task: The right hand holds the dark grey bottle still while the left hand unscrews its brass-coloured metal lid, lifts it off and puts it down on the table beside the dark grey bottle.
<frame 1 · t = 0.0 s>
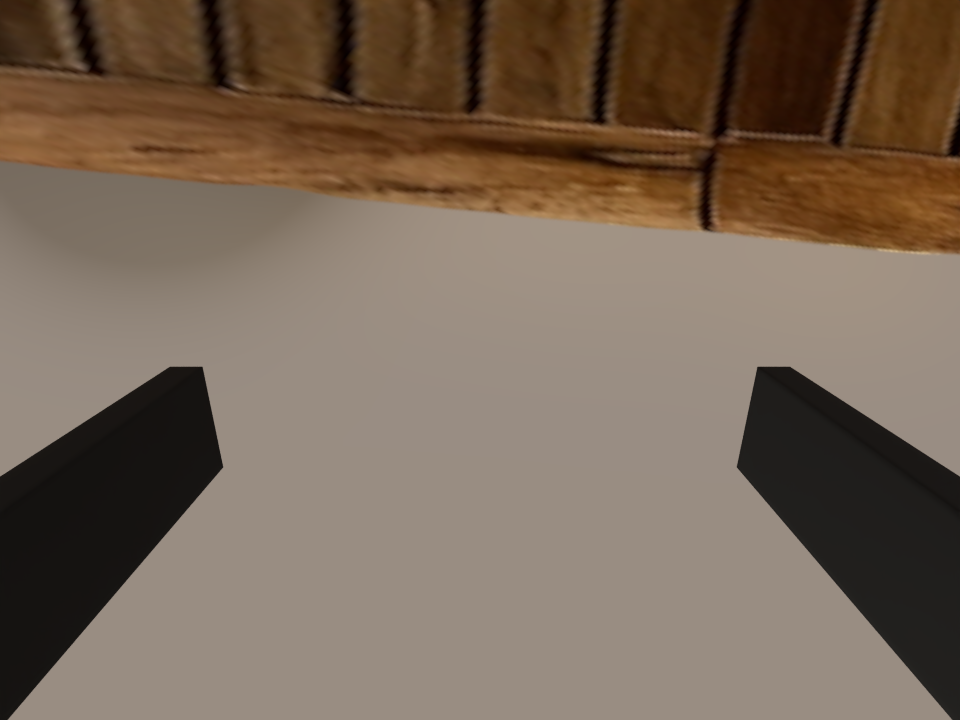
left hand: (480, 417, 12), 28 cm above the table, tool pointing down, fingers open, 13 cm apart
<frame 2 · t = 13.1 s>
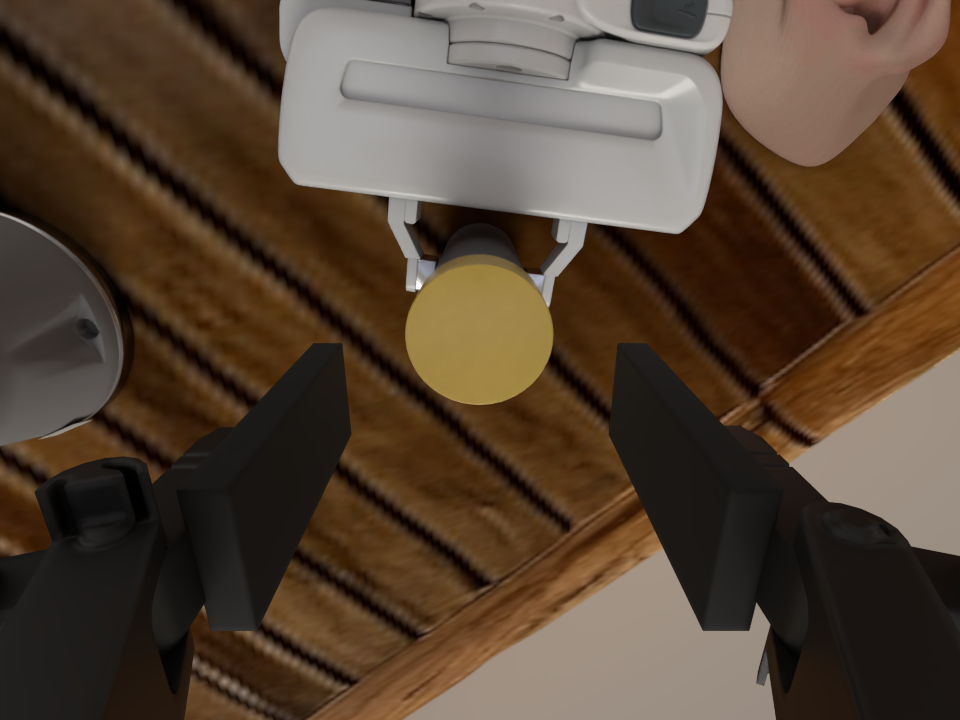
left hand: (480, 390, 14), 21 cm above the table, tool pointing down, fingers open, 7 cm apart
right hand: (478, 297, 27), fingers closed on dark grey bottle, 5 cm apart
dark grey bottle: (479, 260, 33), on the table, touching right hand
anatomical model: (818, 32, 29), on the table
lid: (479, 335, 18), point 16 cm above the table, screwed on, not yet turned
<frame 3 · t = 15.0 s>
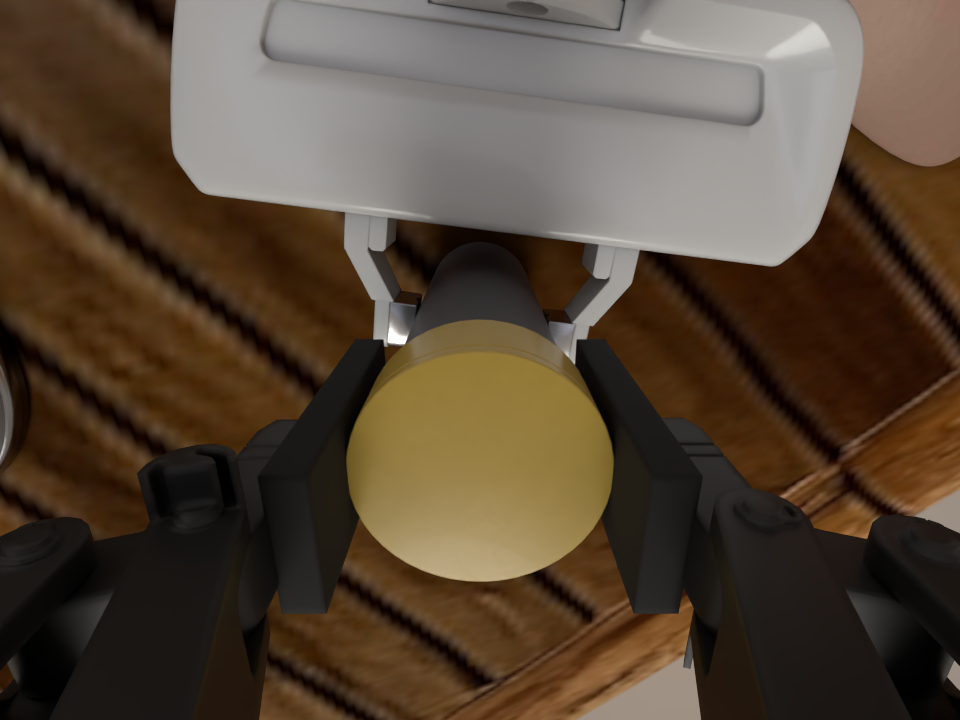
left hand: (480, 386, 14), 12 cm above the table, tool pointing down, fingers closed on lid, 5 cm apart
right hand: (478, 352, 19), fingers closed on dark grey bottle, 5 cm apart
dark grey bottle: (480, 290, 25), on the table, touching right hand
lid: (479, 467, 10), point 16 cm above the table, screwed on, not yet turned, touching left hand
when the left hand's fingers open (12 cm above the table, at t = 16.4 s): lid stays where it is, point 16 cm above the table.
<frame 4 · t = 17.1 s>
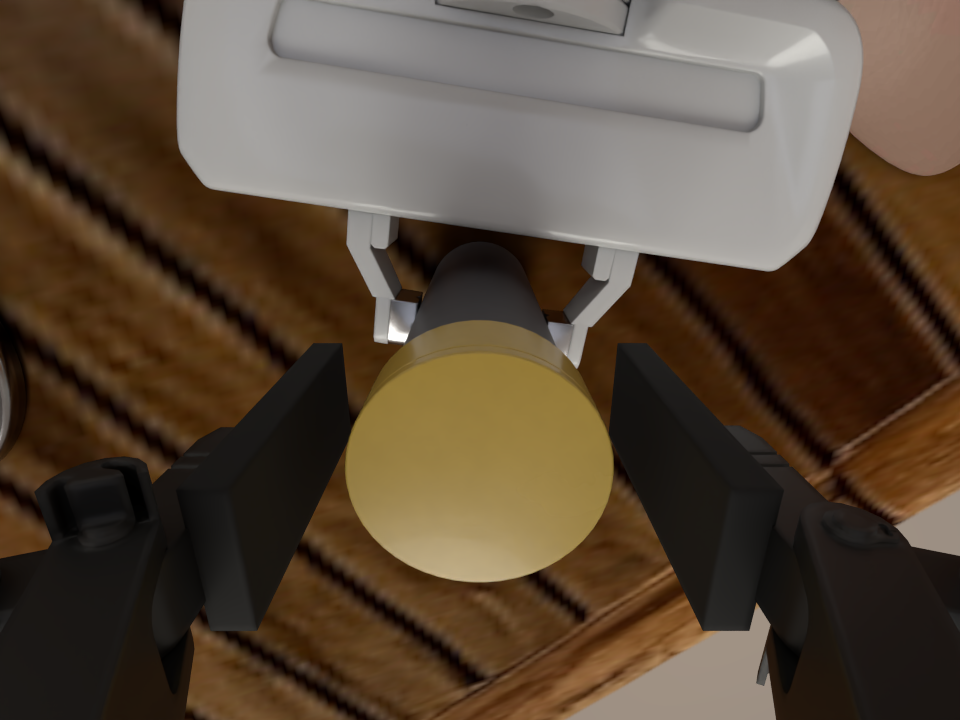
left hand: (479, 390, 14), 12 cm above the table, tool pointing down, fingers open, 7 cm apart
right hand: (477, 351, 19), fingers closed on dark grey bottle, 5 cm apart
dark grey bottle: (479, 290, 25), on the table, touching right hand
lid: (479, 468, 10), point 16 cm above the table, turned 77° so far, risen 0.2 cm, still on its thread
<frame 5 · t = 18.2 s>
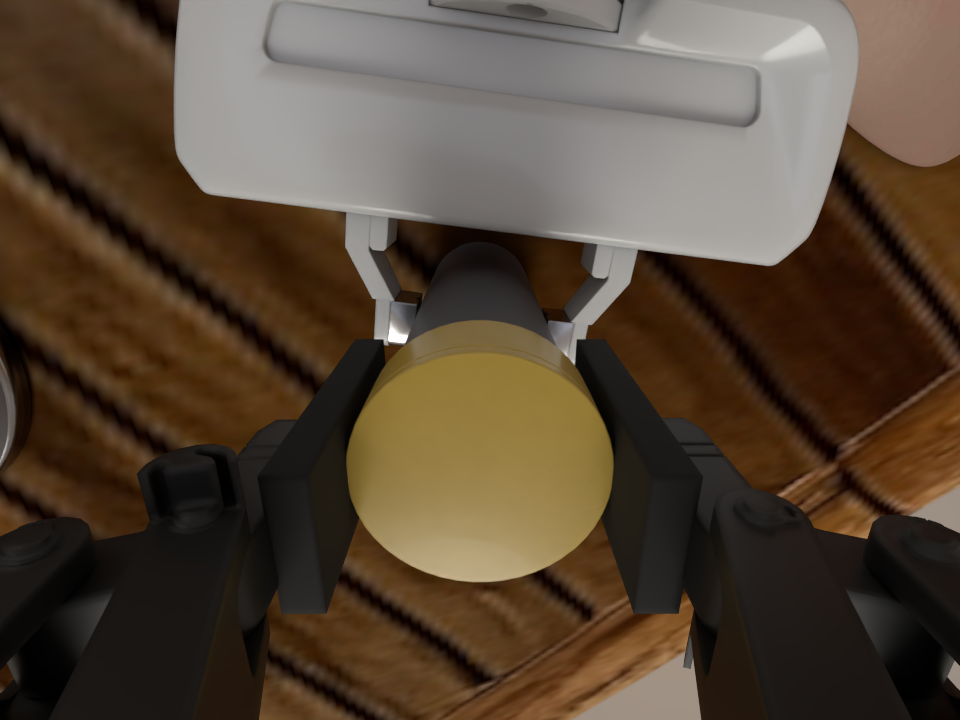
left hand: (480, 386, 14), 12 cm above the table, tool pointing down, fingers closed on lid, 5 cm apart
right hand: (478, 351, 19), fingers closed on dark grey bottle, 5 cm apart
dark grey bottle: (480, 290, 25), on the table, touching right hand
lid: (479, 468, 10), point 16 cm above the table, turned 77° so far, risen 0.2 cm, still on its thread, touching left hand
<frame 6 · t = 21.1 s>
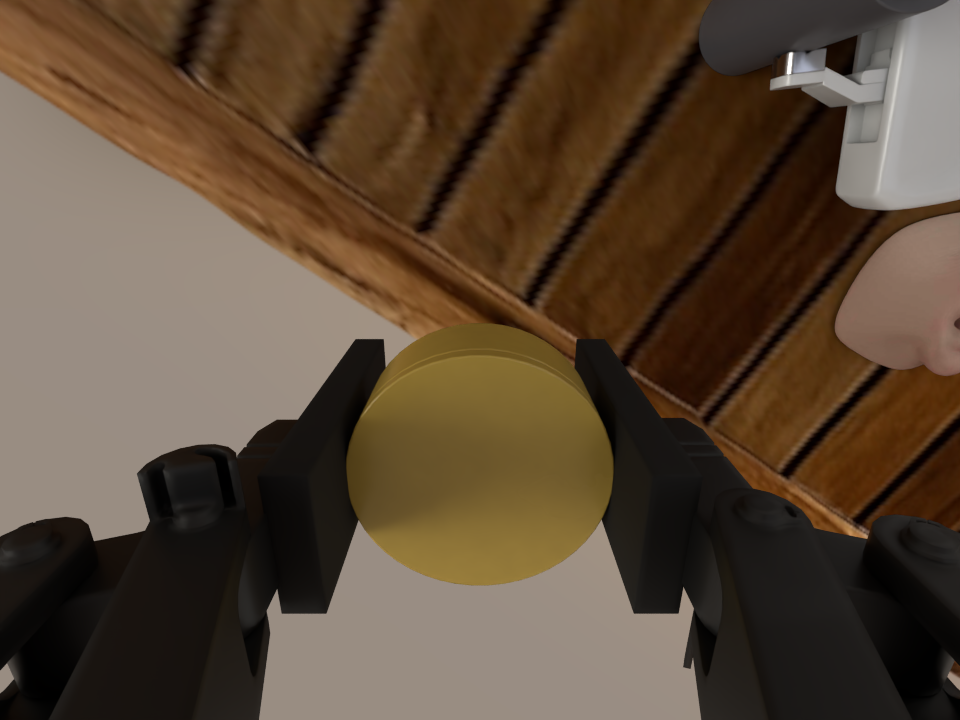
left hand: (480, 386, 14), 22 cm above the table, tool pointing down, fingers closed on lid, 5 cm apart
dark grey bottle: (738, 30, 30), on the table, touching right hand
anatomical model: (935, 291, 36), on the table
lid: (479, 471, 10), point 26 cm above the table, off its thread, touching left hand
when the left hand's fingers open (0 cm above the table, at t = 24.2 s): lid drops 3 cm, point 2 cm above the table.
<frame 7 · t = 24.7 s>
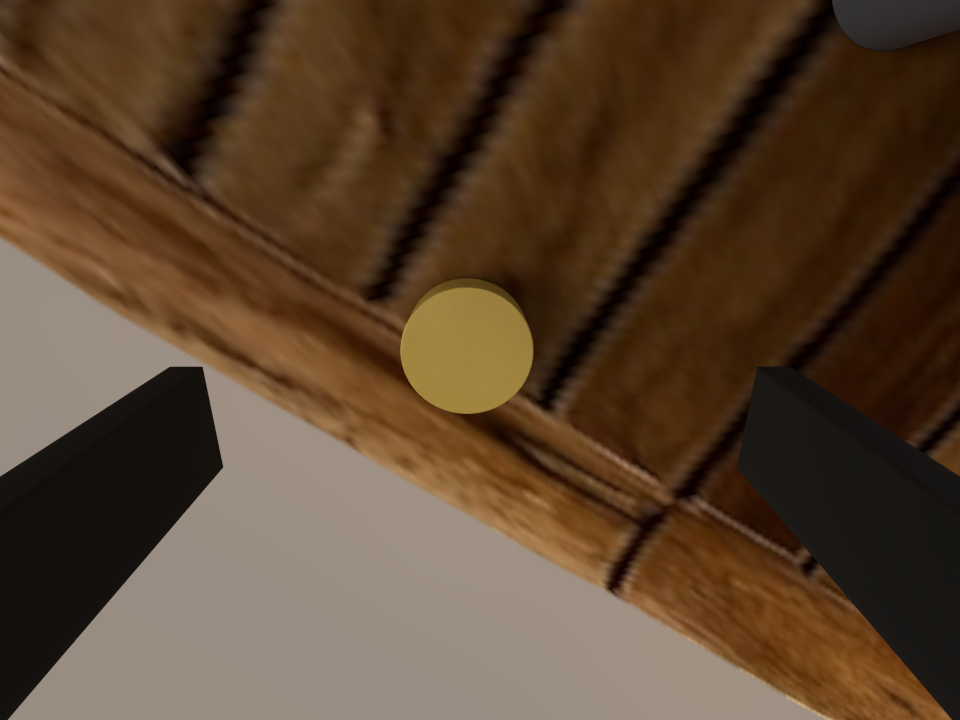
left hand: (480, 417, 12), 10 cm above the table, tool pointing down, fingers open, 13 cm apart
lid: (467, 350, 21), point 2 cm above the table, off its thread
when the right hand's fingers open (6 cm above the table, at t = 24.8 s): dark grey bottle stays where it is, on the table.
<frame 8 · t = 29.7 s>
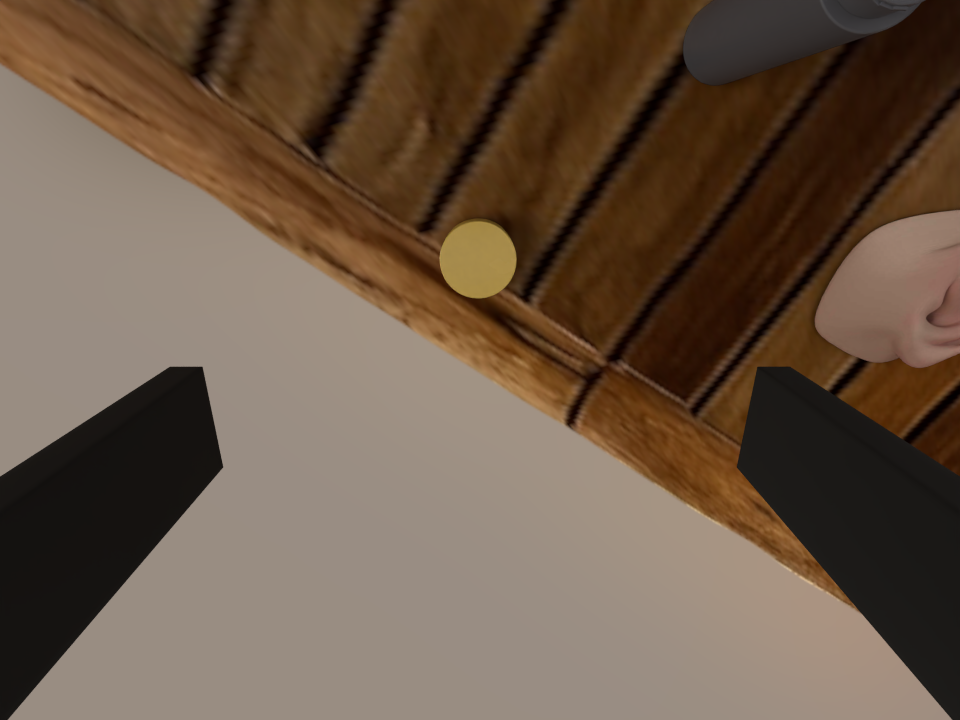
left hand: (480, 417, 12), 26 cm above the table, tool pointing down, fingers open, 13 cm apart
dark grey bottle: (720, 43, 32), on the table
anatomical model: (909, 288, 38), on the table
lid: (478, 259, 35), point 2 cm above the table, off its thread
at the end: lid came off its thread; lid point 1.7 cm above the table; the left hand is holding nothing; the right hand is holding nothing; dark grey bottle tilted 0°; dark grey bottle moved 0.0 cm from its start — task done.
